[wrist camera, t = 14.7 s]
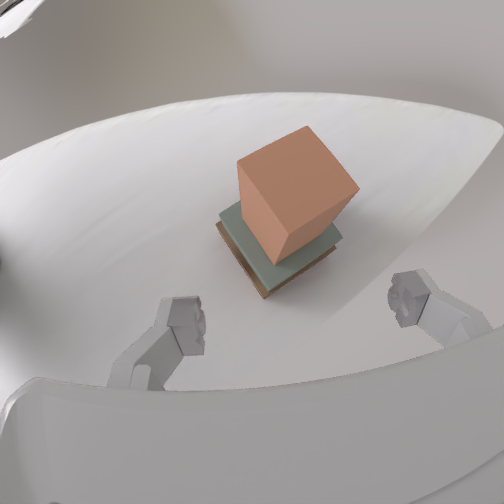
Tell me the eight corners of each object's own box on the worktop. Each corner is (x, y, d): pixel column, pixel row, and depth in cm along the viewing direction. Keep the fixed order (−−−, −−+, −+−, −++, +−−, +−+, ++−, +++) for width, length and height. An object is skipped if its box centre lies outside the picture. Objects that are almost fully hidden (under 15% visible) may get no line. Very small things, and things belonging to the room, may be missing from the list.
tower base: (220, 233, 33) (215, 224, 29) (283, 194, 34) (286, 180, 30) (263, 299, 32) (264, 297, 28) (327, 255, 33) (336, 248, 29)
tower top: (223, 226, 29) (218, 214, 25) (286, 186, 30) (290, 169, 26) (268, 291, 28) (269, 289, 24) (331, 247, 29) (342, 237, 25)
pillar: (242, 218, 25) (236, 161, 15) (288, 190, 26) (307, 125, 16) (274, 265, 24) (288, 234, 14) (320, 234, 25) (360, 188, 15)
